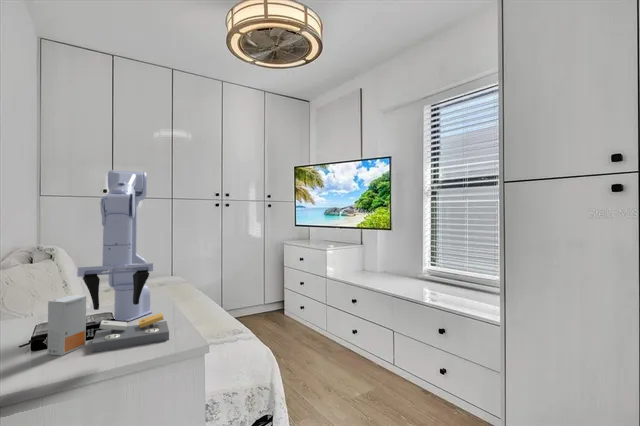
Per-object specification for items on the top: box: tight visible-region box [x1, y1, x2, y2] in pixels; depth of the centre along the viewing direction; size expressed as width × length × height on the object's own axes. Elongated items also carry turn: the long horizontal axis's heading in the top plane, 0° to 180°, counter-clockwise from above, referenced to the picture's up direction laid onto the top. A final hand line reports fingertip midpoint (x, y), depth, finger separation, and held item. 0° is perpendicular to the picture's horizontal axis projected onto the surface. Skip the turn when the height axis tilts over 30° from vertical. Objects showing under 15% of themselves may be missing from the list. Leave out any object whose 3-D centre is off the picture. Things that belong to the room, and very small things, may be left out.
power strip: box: [91, 320, 170, 353], centre depth 83 cm, size 16×9×3 cm, turn 119°
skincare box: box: [47, 294, 87, 356], centre depth 76 cm, size 6×4×12 cm
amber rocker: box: [138, 312, 164, 328], centre depth 87 cm, size 6×3×1 cm, turn 118°
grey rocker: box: [99, 319, 128, 330], centre depth 83 cm, size 6×3×1 cm, turn 119°
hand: (116, 306), depth 74 cm, fingers open, 7 cm apart
